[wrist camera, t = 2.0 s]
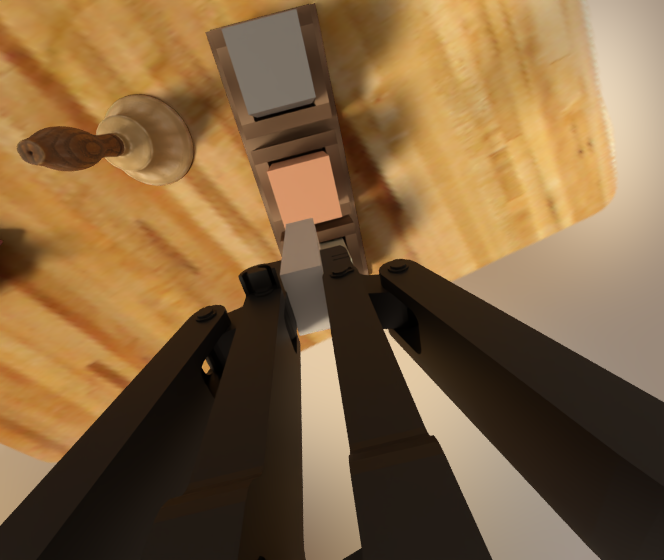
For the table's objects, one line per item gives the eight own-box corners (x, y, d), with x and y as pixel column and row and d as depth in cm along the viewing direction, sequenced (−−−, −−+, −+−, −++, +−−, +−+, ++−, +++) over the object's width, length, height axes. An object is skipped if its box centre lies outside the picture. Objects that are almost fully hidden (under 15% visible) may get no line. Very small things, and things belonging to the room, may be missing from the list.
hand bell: (136, 73, 28) (-28, 15, 14) (210, 144, 31) (141, 158, 17) (87, 140, 30) (-101, 150, 16) (162, 201, 33) (63, 255, 19)
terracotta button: (271, 163, 29) (266, 171, 24) (322, 150, 29) (328, 155, 24) (287, 214, 31) (285, 231, 26) (334, 201, 31) (342, 216, 26)
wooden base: (207, 34, 27) (191, 17, 23) (314, 5, 27) (318, -17, 23) (295, 294, 40) (295, 313, 36) (368, 275, 40) (376, 292, 36)
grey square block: (236, 50, 25) (221, 28, 19) (295, 34, 25) (296, 8, 19) (257, 117, 27) (248, 114, 22) (311, 103, 27) (315, 97, 22)
